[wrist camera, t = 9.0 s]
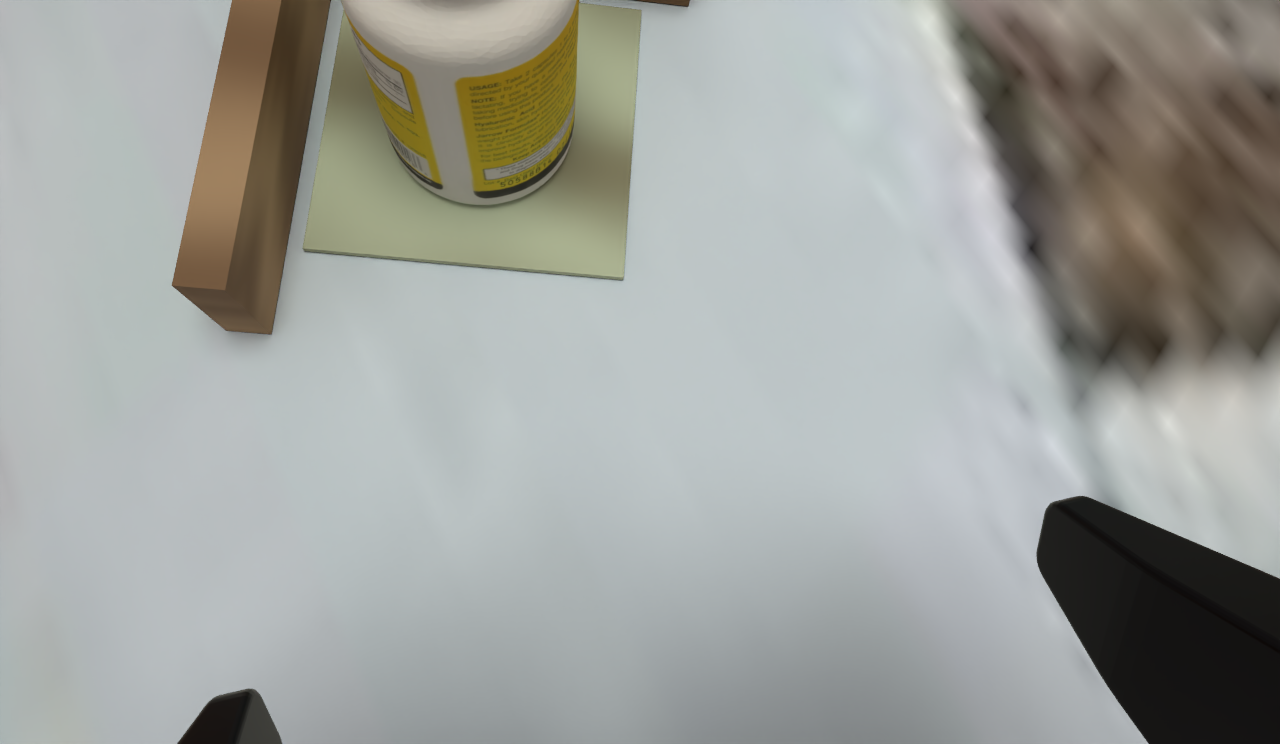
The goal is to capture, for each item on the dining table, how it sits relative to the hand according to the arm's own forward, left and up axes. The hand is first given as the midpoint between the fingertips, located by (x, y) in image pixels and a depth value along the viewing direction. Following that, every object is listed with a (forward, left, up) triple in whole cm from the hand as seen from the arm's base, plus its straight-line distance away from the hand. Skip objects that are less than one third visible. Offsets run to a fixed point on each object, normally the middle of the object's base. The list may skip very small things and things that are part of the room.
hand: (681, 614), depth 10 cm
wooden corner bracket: (+13, +6, -14) cm, 20 cm away
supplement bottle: (+13, +5, -14) cm, 20 cm away
